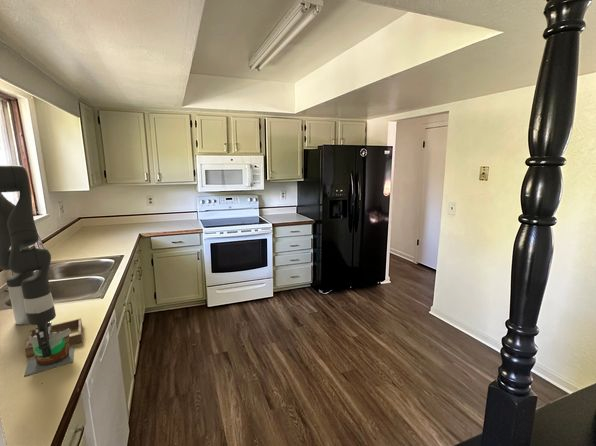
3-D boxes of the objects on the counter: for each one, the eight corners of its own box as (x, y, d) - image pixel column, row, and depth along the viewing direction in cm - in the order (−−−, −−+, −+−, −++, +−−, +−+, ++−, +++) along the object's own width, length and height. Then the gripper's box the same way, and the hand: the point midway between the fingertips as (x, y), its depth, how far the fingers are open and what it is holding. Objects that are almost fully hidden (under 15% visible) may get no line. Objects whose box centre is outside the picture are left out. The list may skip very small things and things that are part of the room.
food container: (23, 369, 105) (19, 340, 105) (33, 360, 111) (30, 332, 110) (66, 363, 109) (62, 334, 108) (73, 354, 114) (70, 327, 114)
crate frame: (31, 338, 126) (30, 330, 125) (82, 325, 135) (80, 318, 134) (26, 357, 114) (24, 348, 113) (82, 342, 123) (80, 333, 122)
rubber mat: (28, 360, 112) (28, 359, 112) (73, 348, 119) (73, 347, 119) (24, 376, 104) (24, 375, 104) (72, 362, 111) (72, 361, 111)
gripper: (28, 302, 111) (36, 344, 114) (22, 319, 99) (32, 365, 103) (55, 296, 115) (62, 337, 118) (52, 312, 103) (60, 357, 107)
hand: (48, 350), depth 111 cm, fingers open, 7 cm apart
